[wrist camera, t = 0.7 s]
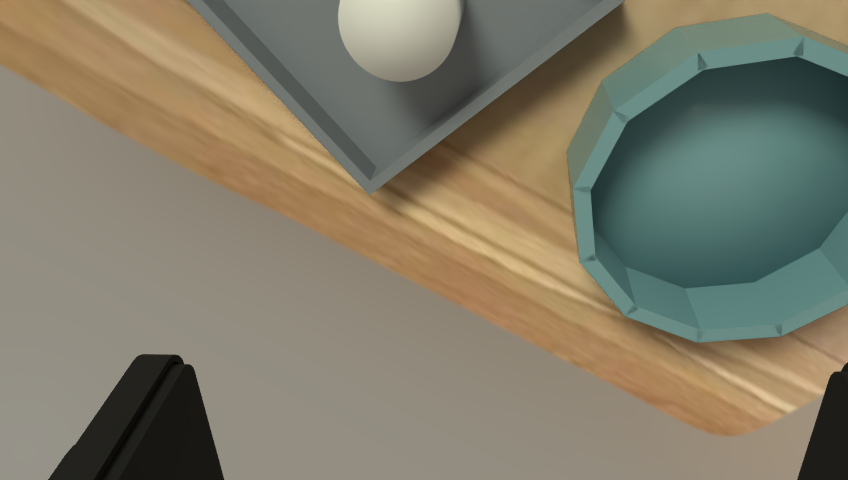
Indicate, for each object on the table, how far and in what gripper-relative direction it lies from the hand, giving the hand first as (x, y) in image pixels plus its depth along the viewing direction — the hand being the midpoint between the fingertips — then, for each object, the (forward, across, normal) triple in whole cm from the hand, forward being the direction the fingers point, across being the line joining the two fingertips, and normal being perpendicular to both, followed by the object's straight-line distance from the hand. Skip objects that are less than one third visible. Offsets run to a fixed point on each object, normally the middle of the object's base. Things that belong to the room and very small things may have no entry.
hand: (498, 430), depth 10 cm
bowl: (+27, -12, +8) cm, 31 cm away
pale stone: (+27, +4, -2) cm, 27 cm away
